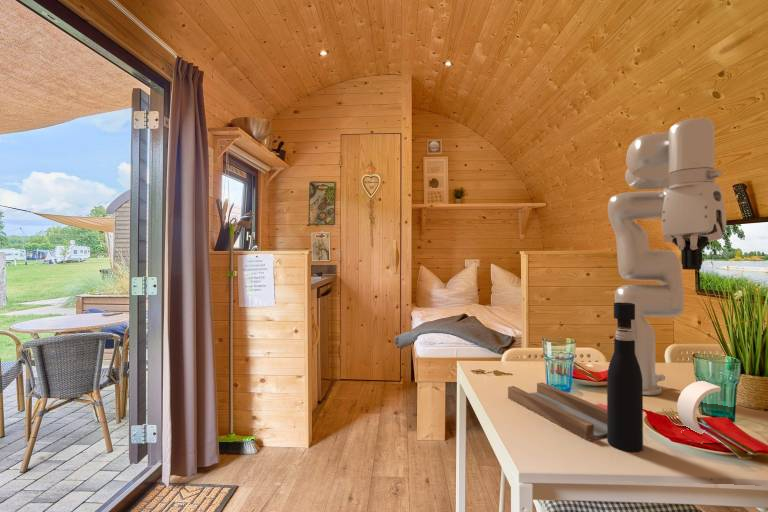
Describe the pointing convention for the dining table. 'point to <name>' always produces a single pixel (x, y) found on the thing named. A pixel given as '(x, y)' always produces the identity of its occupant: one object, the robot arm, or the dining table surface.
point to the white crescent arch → (693, 403)
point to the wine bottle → (624, 386)
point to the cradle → (564, 410)
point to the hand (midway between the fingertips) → (691, 269)
